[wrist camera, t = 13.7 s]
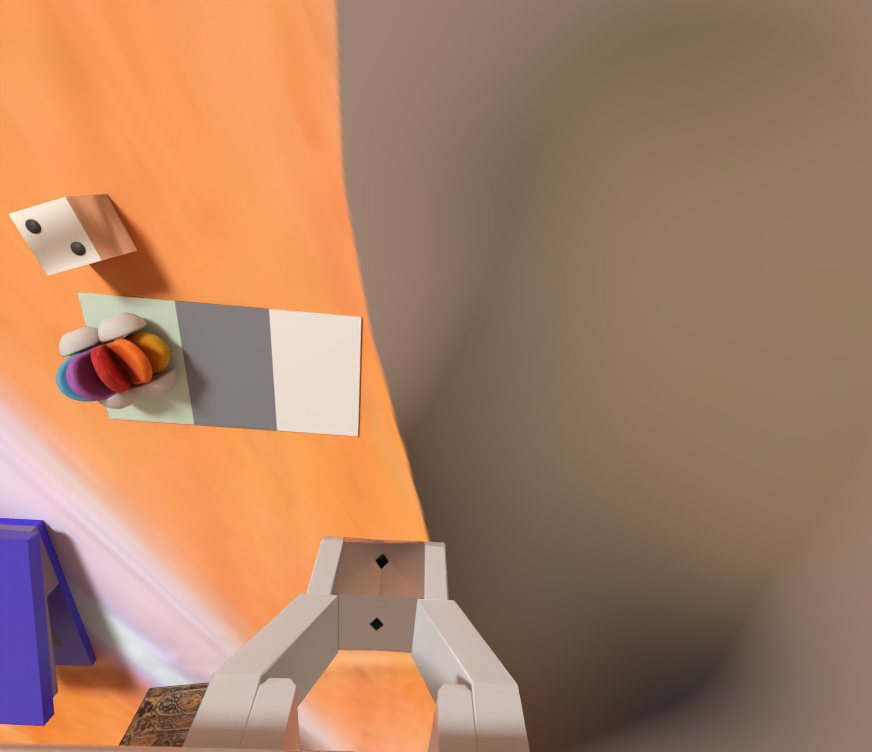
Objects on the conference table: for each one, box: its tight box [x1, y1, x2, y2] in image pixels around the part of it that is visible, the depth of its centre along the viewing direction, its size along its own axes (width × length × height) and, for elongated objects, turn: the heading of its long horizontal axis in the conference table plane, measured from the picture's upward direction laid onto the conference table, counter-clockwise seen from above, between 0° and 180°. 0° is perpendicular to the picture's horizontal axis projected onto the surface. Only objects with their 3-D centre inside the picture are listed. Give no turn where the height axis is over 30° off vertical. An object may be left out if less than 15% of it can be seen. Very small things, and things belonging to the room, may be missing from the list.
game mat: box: [78, 292, 361, 436], centre depth 46 cm, size 14×27×1 cm, turn 84°
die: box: [9, 194, 137, 275], centre depth 37 cm, size 5×5×5 cm
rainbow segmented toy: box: [56, 312, 177, 409], centre depth 41 cm, size 8×10×7 cm
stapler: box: [0, 518, 96, 726], centre depth 55 cm, size 12×28×10 cm, turn 175°
